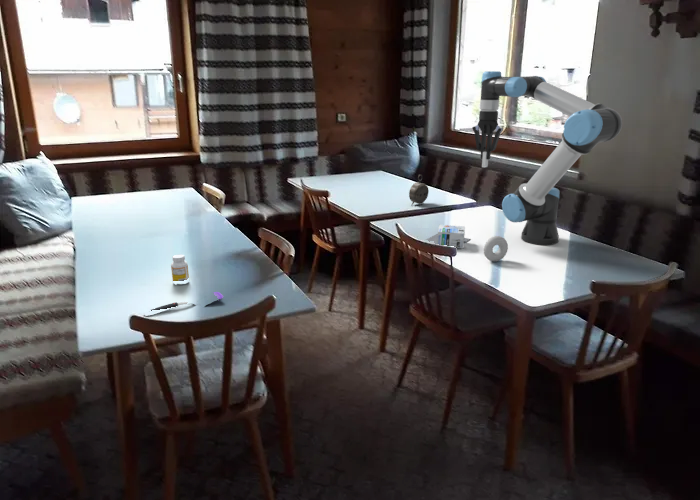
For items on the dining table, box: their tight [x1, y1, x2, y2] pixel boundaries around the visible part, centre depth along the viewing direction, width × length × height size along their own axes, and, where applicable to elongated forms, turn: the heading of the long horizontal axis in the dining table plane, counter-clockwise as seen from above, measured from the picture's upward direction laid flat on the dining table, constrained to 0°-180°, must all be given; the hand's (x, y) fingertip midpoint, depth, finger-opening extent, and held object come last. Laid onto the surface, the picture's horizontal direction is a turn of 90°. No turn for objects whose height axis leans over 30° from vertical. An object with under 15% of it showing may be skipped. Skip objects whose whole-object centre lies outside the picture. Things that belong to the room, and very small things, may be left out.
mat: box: [425, 233, 471, 244], centre depth 236 cm, size 15×16×1 cm
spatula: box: [150, 291, 224, 311], centre depth 173 cm, size 24×7×2 cm, turn 120°
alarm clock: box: [408, 174, 429, 206], centre depth 294 cm, size 11×5×16 cm, turn 130°
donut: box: [483, 235, 509, 262], centre depth 211 cm, size 10×4×10 cm, turn 109°
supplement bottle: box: [170, 254, 190, 282], centre depth 190 cm, size 5×5×10 cm
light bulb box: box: [437, 224, 466, 249], centre depth 231 cm, size 11×7×11 cm
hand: (484, 166), depth 239 cm, fingers closed
